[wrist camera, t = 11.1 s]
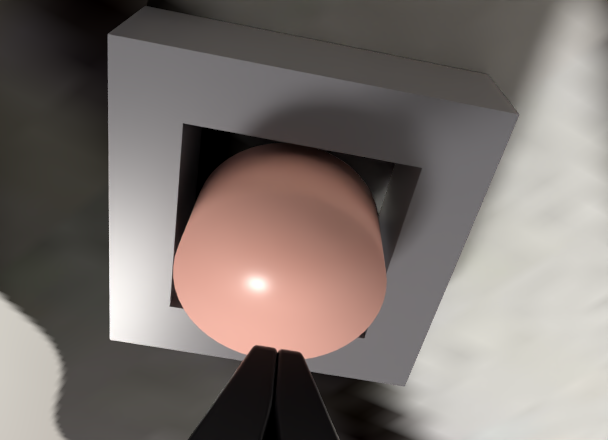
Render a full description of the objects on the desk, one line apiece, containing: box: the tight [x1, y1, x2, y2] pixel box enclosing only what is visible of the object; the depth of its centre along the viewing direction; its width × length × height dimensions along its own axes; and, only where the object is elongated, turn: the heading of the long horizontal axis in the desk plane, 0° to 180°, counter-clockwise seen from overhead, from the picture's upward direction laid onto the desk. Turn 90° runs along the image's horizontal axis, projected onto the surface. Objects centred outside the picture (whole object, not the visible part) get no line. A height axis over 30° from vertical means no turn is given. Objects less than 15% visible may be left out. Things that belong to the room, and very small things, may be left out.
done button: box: [173, 143, 387, 359], centre depth 12 cm, size 4×4×2 cm
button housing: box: [108, 6, 519, 386], centre depth 14 cm, size 8×8×2 cm
